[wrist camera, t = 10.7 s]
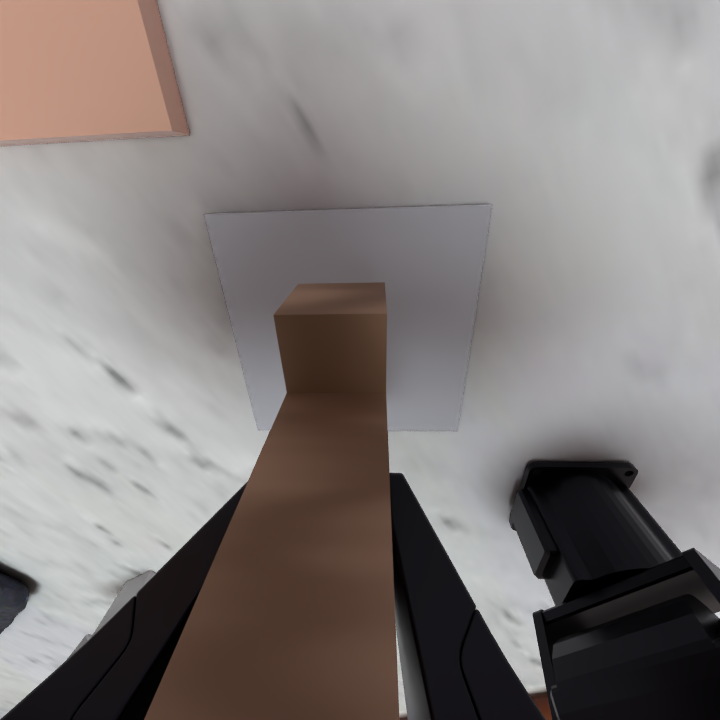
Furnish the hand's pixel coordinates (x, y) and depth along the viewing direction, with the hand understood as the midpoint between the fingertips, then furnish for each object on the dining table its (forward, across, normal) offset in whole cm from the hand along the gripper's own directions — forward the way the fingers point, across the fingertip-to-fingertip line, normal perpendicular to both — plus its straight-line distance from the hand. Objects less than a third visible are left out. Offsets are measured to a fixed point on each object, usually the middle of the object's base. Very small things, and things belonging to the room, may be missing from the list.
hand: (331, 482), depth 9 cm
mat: (+9, 0, 0) cm, 9 cm away
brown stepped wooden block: (+5, 0, 0) cm, 5 cm away
